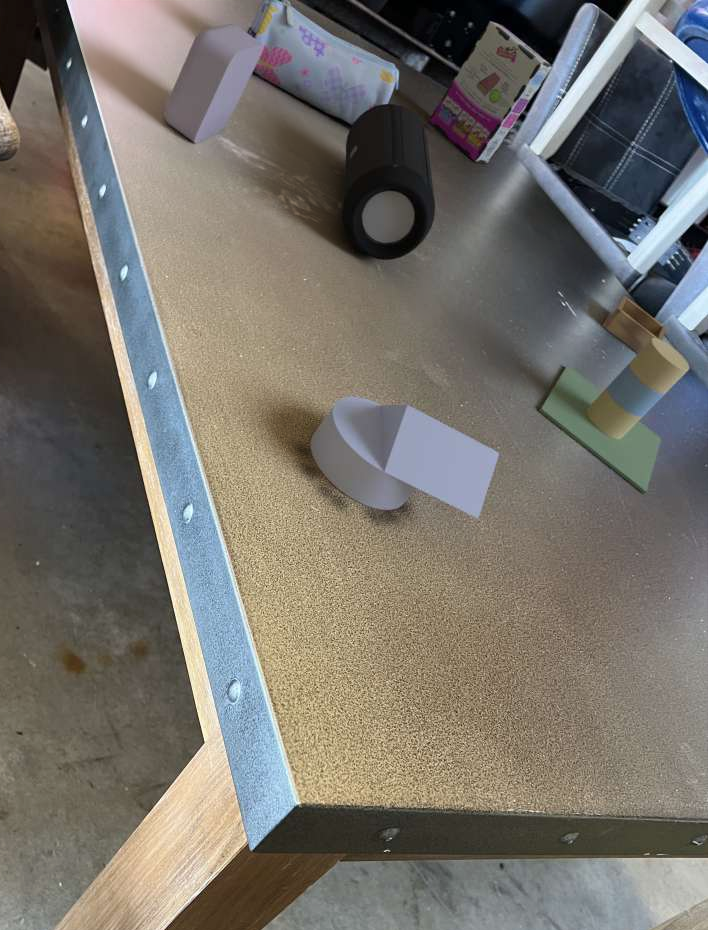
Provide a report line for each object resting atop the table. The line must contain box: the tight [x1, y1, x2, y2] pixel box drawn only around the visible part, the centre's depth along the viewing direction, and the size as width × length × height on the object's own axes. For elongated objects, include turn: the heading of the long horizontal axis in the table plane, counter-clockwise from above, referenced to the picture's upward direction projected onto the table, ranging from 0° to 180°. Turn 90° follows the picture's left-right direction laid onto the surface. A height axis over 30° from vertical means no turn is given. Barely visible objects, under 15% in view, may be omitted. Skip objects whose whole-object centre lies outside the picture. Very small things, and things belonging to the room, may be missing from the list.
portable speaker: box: [341, 103, 436, 261], centre depth 110 cm, size 26×10×10 cm, turn 175°
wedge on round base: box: [310, 396, 500, 519], centre depth 75 cm, size 9×7×13 cm
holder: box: [601, 295, 667, 355], centre depth 133 cm, size 7×7×3 cm
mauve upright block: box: [163, 23, 263, 144], centre depth 102 cm, size 10×5×10 cm, turn 159°
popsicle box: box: [428, 20, 554, 164], centre depth 151 cm, size 11×5×16 cm, turn 47°
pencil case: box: [246, 0, 400, 126], centre depth 128 cm, size 21×9×10 cm, turn 88°
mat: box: [538, 364, 662, 495], centre depth 107 cm, size 14×16×1 cm
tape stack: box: [586, 338, 690, 439], centre depth 104 cm, size 5×5×10 cm
